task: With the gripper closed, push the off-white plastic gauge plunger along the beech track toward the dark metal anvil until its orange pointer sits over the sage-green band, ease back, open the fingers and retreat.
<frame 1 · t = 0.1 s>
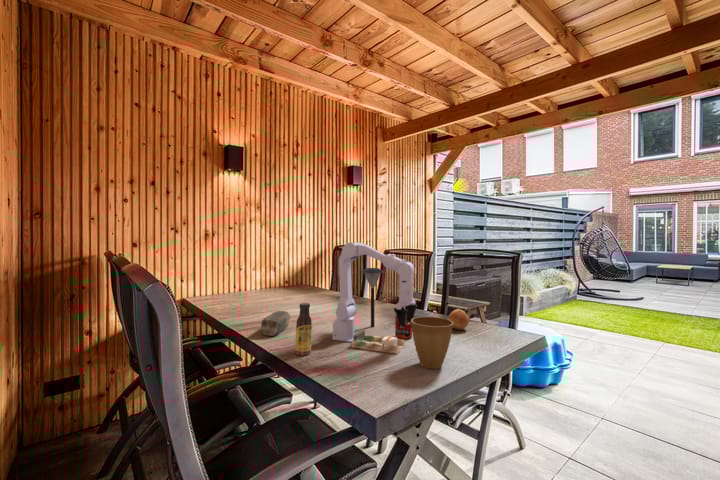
hand: (406, 323, 141), 10 cm above the table, tool pointing down, fingers open, 7 cm apart
plant pot: (431, 365, 122), on the table
plunger: (389, 341, 140), point 3 cm above the table, slide at 0.0 cm
stone block: (276, 331, 166), on the table
canned food: (403, 337, 155), on the table
solar garden light: (372, 327, 174), on the table
sauce bottle: (303, 354, 134), on the table
track: (378, 346, 142), on the table
onion: (458, 329, 169), on the table
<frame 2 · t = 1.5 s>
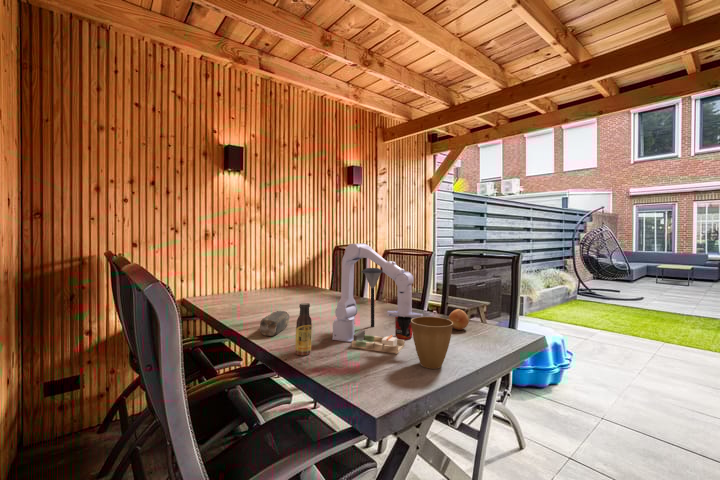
hand: (404, 335, 138), 6 cm above the table, tool pointing down, fingers closed
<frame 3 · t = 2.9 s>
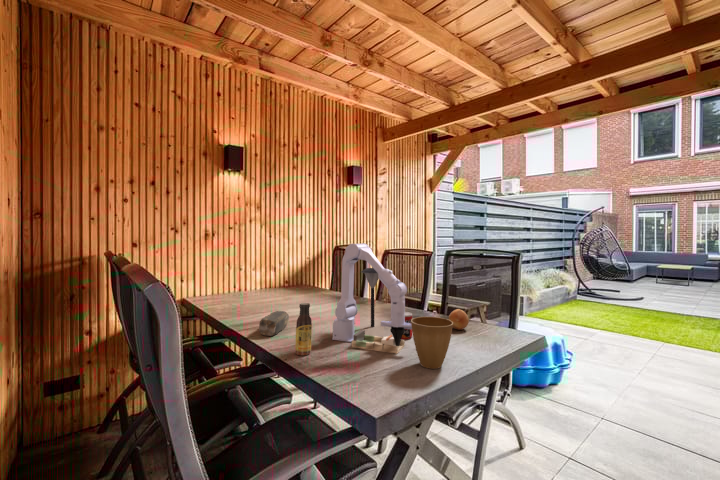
hand: (397, 345, 139), 2 cm above the table, tool pointing down, fingers closed
plunger: (389, 341, 140), point 3 cm above the table, slide at 0.2 cm, touching gripper
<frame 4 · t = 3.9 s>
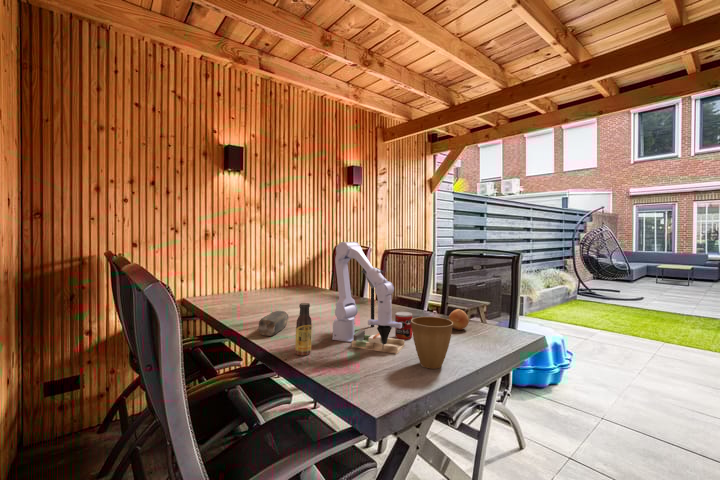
hand: (384, 343, 141), 2 cm above the table, tool pointing down, fingers closed
plunger: (376, 339, 143), point 3 cm above the table, slide at 5.9 cm, touching gripper
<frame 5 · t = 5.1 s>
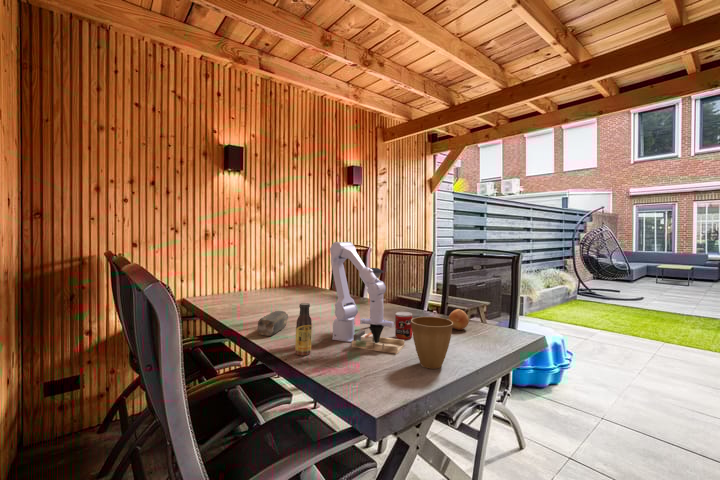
hand: (376, 342, 143), 2 cm above the table, tool pointing down, fingers closed
plunger: (368, 338, 144), point 3 cm above the table, slide at 9.5 cm, touching gripper
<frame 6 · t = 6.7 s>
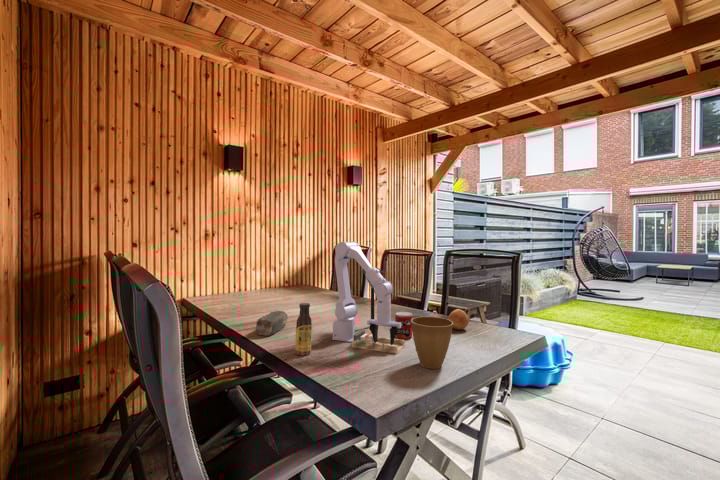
hand: (383, 343, 141), 2 cm above the table, tool pointing down, fingers open, 7 cm apart
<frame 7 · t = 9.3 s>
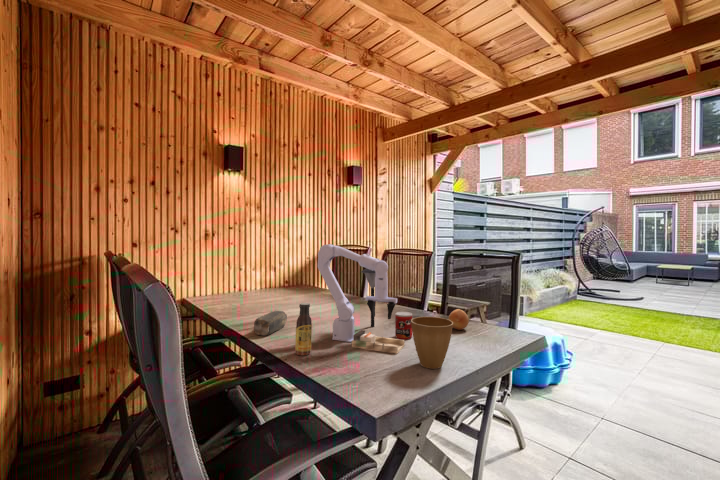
hand: (381, 317, 151), 10 cm above the table, tool pointing down, fingers open, 7 cm apart
plunger: (367, 338, 144), point 3 cm above the table, slide at 9.8 cm
at the end: plunger slide at 9.8 cm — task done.
